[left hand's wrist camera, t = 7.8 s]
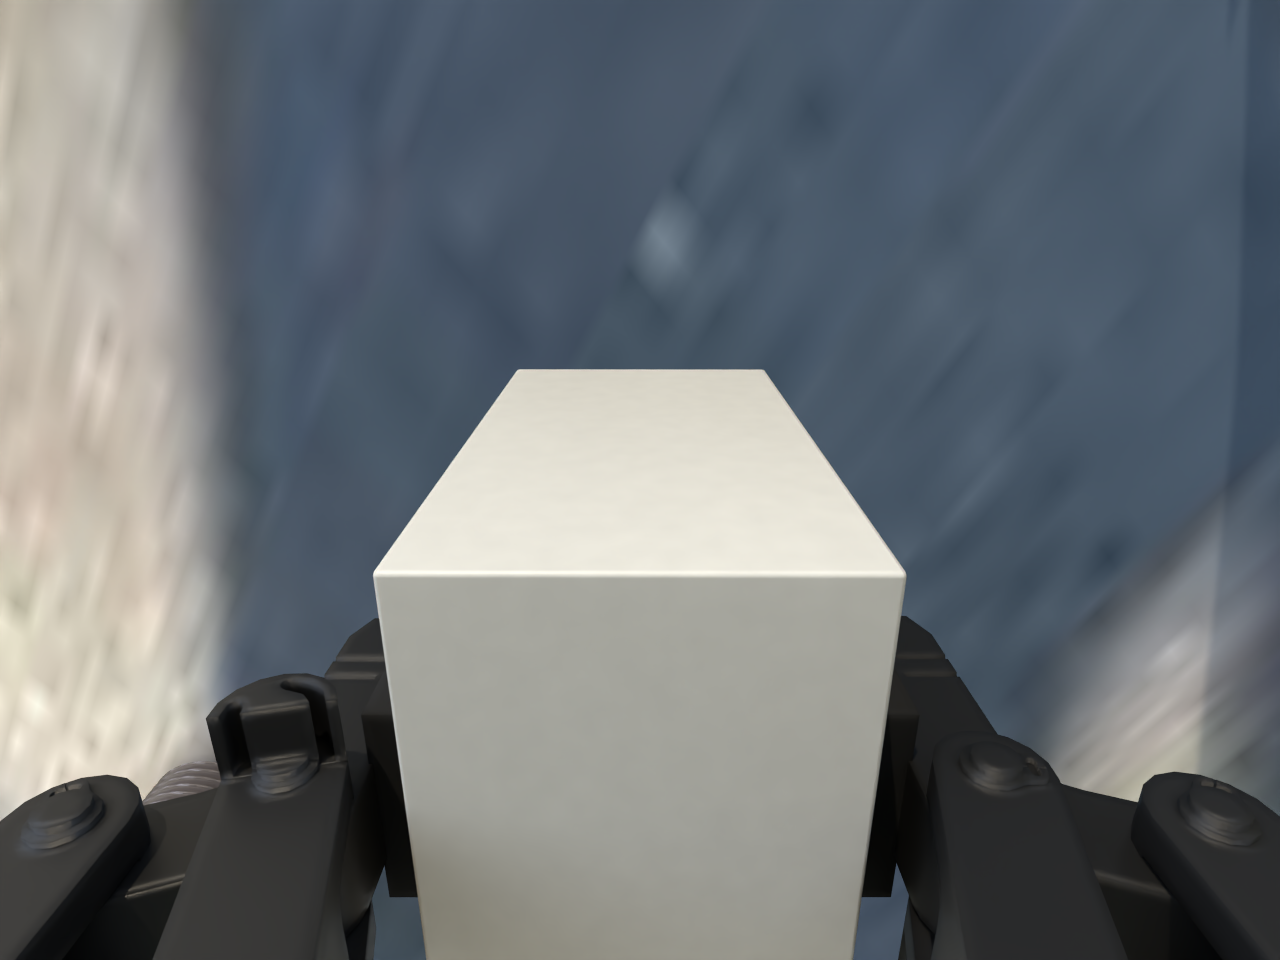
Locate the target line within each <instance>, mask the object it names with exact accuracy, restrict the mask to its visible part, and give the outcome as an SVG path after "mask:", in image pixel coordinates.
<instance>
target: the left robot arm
mask: <svg viewBox="0 0 1280 960" xmlns="http://www.w3.org/2000/svg"><path fill="white" fill-rule="evenodd" d="M206 721H207V725H208V729H209V733H210V737H211V741H212V745H213V749H214V753H215V757H216V761H217V765H218V769H219V773H220V777H221V782H220V784H219V787H217V788H214V789H210V790H207V791H204V792H200V793H196V794H192V795H188V796H183V797H179V798H174V799H170V800H165V801H161V802H156V803H152V804H148V805H143V802H142V799H141V795H140V792H139V789H138V787H137V786H136V785H134V784H133V783H132V782H131V781H130V780H129V779H127V778H123V777H117V776H111V775H102V776H94V777H86V778H80V779H77V780H74V781H71V782H68V783H64V784H61V785H59V786H56V787H53V788H51V789H49V790H47V791H45V792H43V793H41V794H39V795H38V796H36V797H34V798H32V799H30V800H28V801H26V802H24V803H23V804H22V805H21V806H19V807H18V808H17V809H15V810H14V811H13V812H12V813H10V814H9V815H8V816H6V817H5V818H4V819H3V820H1V821H0V960H373V956H374V946H375V935H376V924H375V917H374V910H373V905H372V896H373V894H374V891H375V889H376V886H377V883H378V881H379V878H380V875H381V873H382V870H383V868H384V865H385V870H386V877H387V883H388V889H389V896H390V897H418V894H417V887H416V880H415V872H414V865H413V858H412V851H411V844H410V836H409V829H408V822H407V815H406V808H405V800H404V793H403V786H402V779H401V772H400V764H399V757H398V750H397V743H396V736H395V729H394V721H393V714H392V707H391V700H390V693H389V685H388V678H387V671H386V664H385V657H384V649H383V642H382V635H381V628H380V621H379V618H375V619H373V620H372V621H371V622H369V623H368V624H366V625H365V626H364V627H362V628H361V629H359V630H358V631H357V632H355V633H354V634H352V635H351V636H350V637H349V638H348V640H347V641H346V643H345V644H344V646H343V647H342V649H341V651H340V652H339V654H338V655H337V657H336V662H333V663H332V664H331V666H330V667H329V669H328V670H327V672H326V673H325V677H324V678H323V677H319V676H315V675H311V674H307V673H306V674H282V675H278V676H274V677H269V678H265V679H261V680H258V681H256V682H253V683H251V684H249V685H246V686H244V687H242V688H239V689H237V690H236V691H234V692H233V693H231V694H230V695H229V696H227V697H226V698H224V699H223V700H221V701H220V702H219V703H217V705H216V706H215V707H214V709H213V710H212V711H211V712H210V714H209V715H208V716H207V718H206ZM896 862H897V865H898V868H899V870H900V873H901V876H902V878H903V881H904V883H905V886H906V889H907V891H908V894H909V899H908V905H907V910H906V916H905V922H904V928H903V934H902V940H901V946H900V952H899V958H898V960H1280V816H1278V815H1277V814H1276V813H1274V812H1273V811H1272V810H1271V809H1269V808H1268V807H1267V806H1265V805H1264V804H1263V803H1262V802H1260V801H1259V800H1258V799H1256V798H1254V797H1252V796H1250V795H1248V794H1246V793H1245V792H1243V791H1241V790H1239V789H1237V788H1235V787H1233V786H1231V785H1229V784H1226V783H1223V782H1221V781H1218V780H1214V779H1212V778H1208V777H1205V776H1202V775H1196V774H1188V773H1180V772H1170V773H1164V774H1158V775H1154V776H1153V777H1152V778H1151V779H1149V780H1148V781H1147V782H1146V783H1145V784H1143V788H1142V791H1141V794H1140V798H1139V801H1138V802H1133V801H1129V800H1125V799H1120V798H1116V797H1111V796H1107V795H1102V794H1098V793H1093V792H1089V791H1084V790H1081V789H1077V788H1074V787H1071V786H1067V785H1064V784H1061V783H1060V780H1059V778H1058V777H1057V775H1056V774H1055V772H1054V771H1053V769H1052V768H1051V766H1050V765H1049V763H1048V762H1047V761H1045V760H1044V759H1043V758H1042V757H1040V756H1039V755H1038V754H1037V753H1035V752H1034V751H1033V750H1032V749H1030V748H1029V747H1027V746H1025V745H1023V744H1020V743H1018V742H1016V741H1014V740H1012V739H1010V738H1008V737H1005V736H1001V735H998V734H997V733H996V731H995V730H994V728H993V727H992V725H991V724H990V722H989V721H988V719H987V718H986V716H985V715H984V713H983V712H982V710H981V709H980V707H979V706H978V704H977V703H976V701H975V700H974V698H973V697H972V695H971V693H970V692H969V690H968V689H967V687H966V686H965V684H964V683H963V681H962V680H961V678H960V677H957V672H956V671H955V669H954V668H953V666H952V665H951V663H950V662H949V660H948V659H945V654H944V653H943V651H942V650H941V648H940V647H939V645H938V644H937V642H936V641H935V639H934V637H933V636H932V634H930V633H929V632H928V631H926V630H925V629H923V628H922V627H921V626H919V625H918V624H916V623H915V622H914V621H912V620H911V619H909V618H908V617H907V616H901V619H900V626H899V634H898V641H897V648H896V655H895V662H894V669H893V676H892V684H891V691H890V698H889V705H888V712H887V719H886V726H885V734H884V741H883V748H882V755H881V762H880V769H879V776H878V784H877V791H876V798H875V805H874V812H873V819H872V826H871V834H870V841H869V848H868V855H867V862H866V869H865V876H864V884H863V891H862V897H891V893H892V886H893V880H894V874H895V868H896Z"/></svg>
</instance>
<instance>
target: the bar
mask: <svg viewBox="0 0 1280 960" xmlns="http://www.w3.org/2000/svg"><path fill="white" fill-rule="evenodd" d="M373 578H374V585H375V592H376V599H377V606H378V614H379V621H380V628H381V635H382V642H383V649H384V657H385V664H386V671H387V678H388V685H389V693H390V700H391V707H392V714H393V721H394V729H395V736H396V743H397V750H398V757H399V764H400V772H401V779H402V786H403V793H404V800H405V808H406V815H407V822H408V829H409V836H410V844H411V851H412V858H413V865H414V872H415V880H416V887H417V894H418V901H419V908H420V915H421V923H422V930H423V937H424V944H425V951H426V959H427V960H853V955H854V948H855V941H856V934H857V926H858V919H859V912H860V905H861V898H862V891H863V884H864V876H865V869H866V862H867V855H868V848H869V841H870V834H871V826H872V819H873V812H874V805H875V798H876V791H877V784H878V776H879V769H880V762H881V755H882V748H883V741H884V734H885V726H886V719H887V712H888V705H889V698H890V691H891V684H892V676H893V669H894V662H895V655H896V648H897V641H898V634H899V626H900V619H901V612H902V605H903V598H904V591H905V584H906V573H905V571H904V569H903V568H902V566H901V565H900V564H899V562H898V561H897V559H896V558H895V556H894V555H893V554H892V552H891V551H890V549H889V548H888V546H887V545H886V544H885V542H884V541H883V539H882V538H881V536H880V535H879V534H878V532H877V531H876V529H875V528H874V526H873V525H872V524H871V522H870V521H869V519H868V518H867V516H866V515H865V514H864V512H863V511H862V509H861V508H860V506H859V505H858V504H857V502H856V501H855V499H854V498H853V496H852V495H851V494H850V492H849V491H848V489H847V488H846V487H845V485H844V484H843V482H842V481H841V479H840V478H839V477H838V475H837V474H836V472H835V471H834V469H833V468H832V467H831V465H830V464H829V462H828V461H827V459H826V458H825V457H824V455H823V454H822V452H821V451H820V449H819V448H818V447H817V445H816V444H815V442H814V441H813V439H812V438H811V437H810V435H809V434H808V432H807V431H806V429H805V428H804V427H803V425H802V424H801V422H800V421H799V419H798V418H797V417H796V415H795V414H794V412H793V411H792V409H791V408H790V407H789V405H788V404H787V402H786V401H785V399H784V398H783V397H782V395H781V394H780V392H779V391H778V390H777V388H776V387H775V385H774V384H773V382H772V381H771V380H770V378H769V377H768V375H767V374H766V372H765V371H764V370H517V372H516V373H515V374H514V376H513V377H512V379H511V380H510V381H509V383H508V384H507V386H506V387H505V388H504V390H503V391H502V393H501V394H500V395H499V397H498V398H497V400H496V401H495V402H494V404H493V405H492V407H491V408H490V410H489V411H488V412H487V414H486V415H485V417H484V418H483V419H482V421H481V422H480V424H479V425H478V426H477V428H476V429H475V431H474V432H473V433H472V435H471V436H470V438H469V439H468V440H467V442H466V443H465V445H464V446H463V447H462V449H461V450H460V452H459V453H458V454H457V456H456V457H455V459H454V460H453V461H452V463H451V464H450V466H449V467H448V468H447V470H446V471H445V473H444V474H443V476H442V477H441V478H440V480H439V481H438V483H437V484H436V485H435V487H434V488H433V490H432V491H431V492H430V494H429V495H428V497H427V498H426V499H425V501H424V502H423V504H422V505H421V506H420V508H419V509H418V511H417V512H416V513H415V515H414V516H413V518H412V519H411V520H410V522H409V523H408V525H407V526H406V527H405V529H404V530H403V532H402V533H401V534H400V536H399V537H398V539H397V540H396V542H395V543H394V544H393V546H392V547H391V549H390V550H389V551H388V553H387V554H386V556H385V557H384V558H383V560H382V561H381V563H380V564H379V565H378V567H377V568H376V570H375V571H374V574H373Z"/></svg>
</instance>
